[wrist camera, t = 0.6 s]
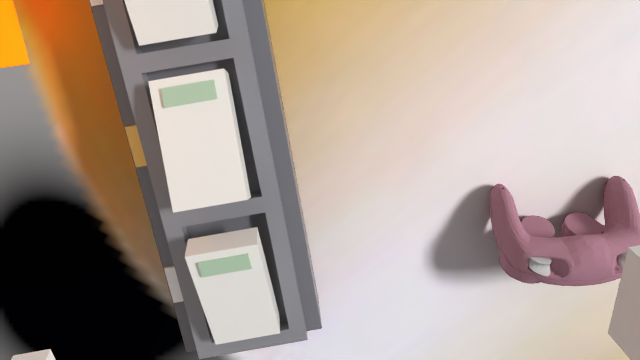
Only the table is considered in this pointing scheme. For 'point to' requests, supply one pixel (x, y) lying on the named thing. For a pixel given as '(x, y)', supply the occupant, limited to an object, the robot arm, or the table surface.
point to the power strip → (259, 156)
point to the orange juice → (11, 37)
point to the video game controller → (567, 240)
